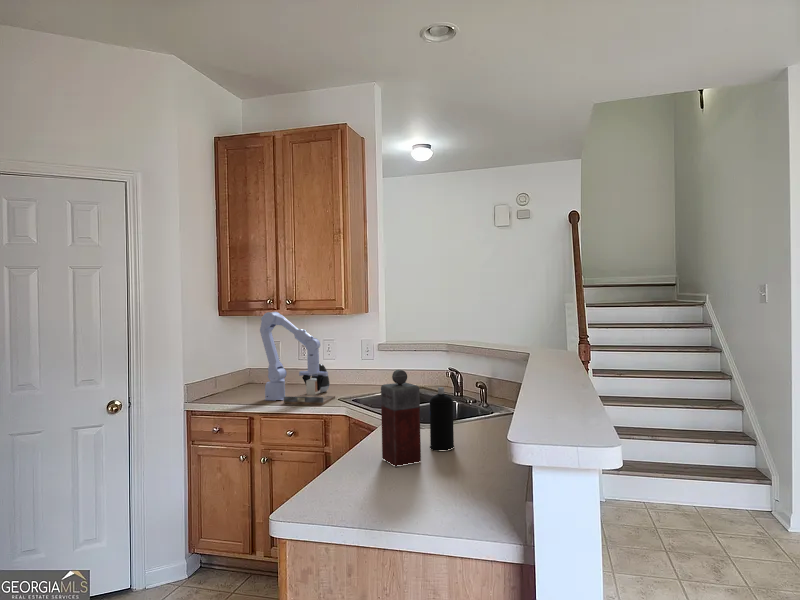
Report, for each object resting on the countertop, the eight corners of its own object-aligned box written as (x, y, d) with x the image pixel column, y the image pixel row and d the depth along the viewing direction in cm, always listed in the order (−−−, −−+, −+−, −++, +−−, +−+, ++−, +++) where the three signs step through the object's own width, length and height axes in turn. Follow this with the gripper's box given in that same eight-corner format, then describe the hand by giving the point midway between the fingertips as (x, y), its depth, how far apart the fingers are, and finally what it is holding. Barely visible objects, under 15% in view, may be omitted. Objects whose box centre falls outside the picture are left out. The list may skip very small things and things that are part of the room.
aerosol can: (459, 449, 174) (458, 388, 174) (438, 453, 170) (437, 390, 170) (445, 443, 181) (444, 384, 181) (425, 447, 177) (423, 387, 177)
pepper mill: (403, 453, 170) (402, 366, 170) (421, 462, 161) (419, 370, 160) (378, 457, 166) (376, 368, 166) (395, 467, 156) (393, 372, 156)
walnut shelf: (283, 403, 255) (283, 396, 255) (298, 397, 272) (298, 390, 272) (322, 404, 250) (322, 397, 250) (335, 397, 267) (335, 391, 267)
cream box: (306, 394, 261) (306, 380, 261) (311, 392, 267) (311, 378, 267) (315, 395, 260) (315, 380, 259) (321, 392, 266) (320, 378, 266)
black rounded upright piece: (331, 390, 290) (331, 362, 290) (327, 393, 279) (326, 365, 279) (313, 390, 291) (312, 362, 291) (308, 393, 280) (307, 365, 280)
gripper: (329, 362, 266) (330, 389, 266) (302, 361, 269) (303, 388, 269) (324, 363, 259) (325, 391, 259) (297, 363, 262) (297, 391, 262)
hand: (313, 390), depth 263 cm, fingers closed on cream box, 5 cm apart
